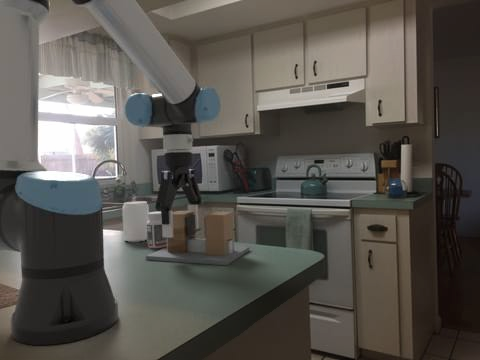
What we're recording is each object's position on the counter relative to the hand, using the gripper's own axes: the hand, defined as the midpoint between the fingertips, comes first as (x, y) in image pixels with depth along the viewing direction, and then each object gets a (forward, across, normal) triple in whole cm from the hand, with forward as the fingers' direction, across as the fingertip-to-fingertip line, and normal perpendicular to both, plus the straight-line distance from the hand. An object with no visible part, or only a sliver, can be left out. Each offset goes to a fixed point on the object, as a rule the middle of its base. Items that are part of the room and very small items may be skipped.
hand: (181, 232), depth 110 cm
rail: (+6, 0, -5) cm, 8 cm away
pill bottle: (+6, +7, +12) cm, 15 cm away
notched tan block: (+5, 0, 0) cm, 5 cm away
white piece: (+6, +14, +24) cm, 28 cm away
